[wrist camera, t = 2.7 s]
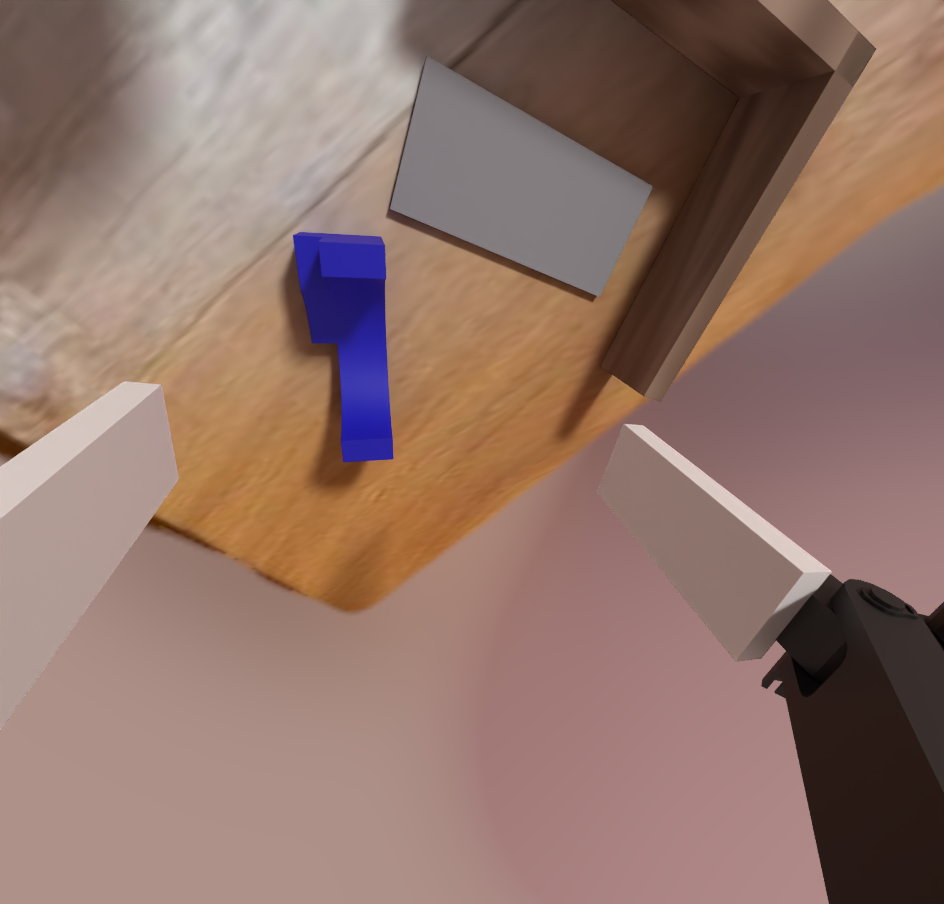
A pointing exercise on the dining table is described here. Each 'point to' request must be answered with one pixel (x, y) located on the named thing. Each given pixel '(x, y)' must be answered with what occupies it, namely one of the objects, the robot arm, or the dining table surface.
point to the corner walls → (734, 159)
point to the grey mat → (513, 183)
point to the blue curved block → (351, 331)
